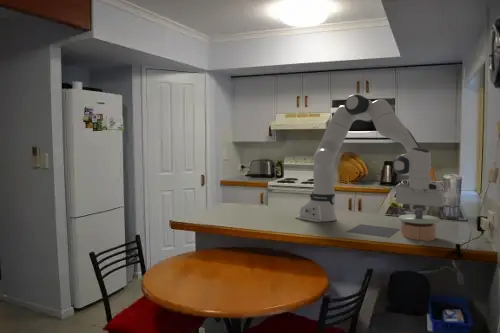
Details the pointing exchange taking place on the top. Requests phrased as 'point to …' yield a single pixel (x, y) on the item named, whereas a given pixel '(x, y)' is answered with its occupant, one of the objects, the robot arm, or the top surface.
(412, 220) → the lid
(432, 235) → the bowl
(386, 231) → the mat
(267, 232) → the top surface
